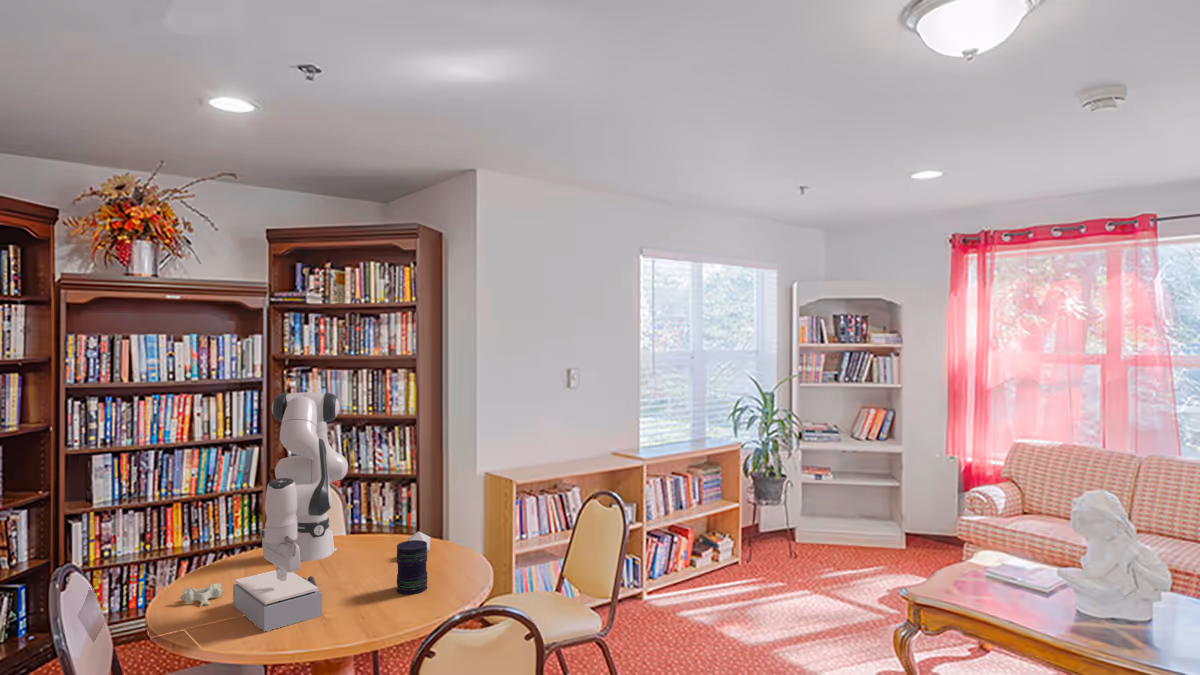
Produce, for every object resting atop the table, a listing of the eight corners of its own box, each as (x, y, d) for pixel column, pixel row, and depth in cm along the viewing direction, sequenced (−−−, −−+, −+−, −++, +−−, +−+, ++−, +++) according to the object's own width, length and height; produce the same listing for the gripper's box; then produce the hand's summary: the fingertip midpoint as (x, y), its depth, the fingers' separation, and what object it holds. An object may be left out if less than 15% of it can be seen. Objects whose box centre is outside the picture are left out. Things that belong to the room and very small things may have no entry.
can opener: (321, 602, 214) (321, 582, 214) (303, 605, 212) (303, 585, 212) (314, 583, 231) (314, 565, 231) (298, 586, 228) (298, 567, 228)
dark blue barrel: (433, 589, 224) (433, 544, 224) (406, 597, 217) (406, 551, 217) (417, 582, 231) (417, 538, 231) (391, 589, 224) (390, 544, 224)
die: (435, 556, 259) (435, 530, 259) (417, 562, 251) (417, 535, 251) (419, 552, 263) (419, 526, 263) (401, 559, 256) (401, 532, 256)
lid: (235, 582, 211) (235, 579, 211) (285, 570, 222) (285, 567, 222) (265, 604, 193) (265, 601, 193) (318, 590, 204) (318, 587, 204)
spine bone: (182, 616, 207) (183, 602, 206) (178, 599, 214) (179, 585, 214) (226, 608, 214) (227, 594, 213) (221, 592, 222) (222, 578, 221)
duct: (233, 607, 210) (233, 584, 210) (287, 592, 222) (287, 571, 222) (264, 632, 192) (264, 608, 192) (321, 615, 203) (321, 592, 203)
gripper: (306, 538, 199) (306, 585, 199) (279, 525, 213) (279, 569, 213) (284, 543, 195) (284, 591, 194) (258, 529, 209) (258, 574, 209)
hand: (281, 579), depth 204 cm, fingers closed
